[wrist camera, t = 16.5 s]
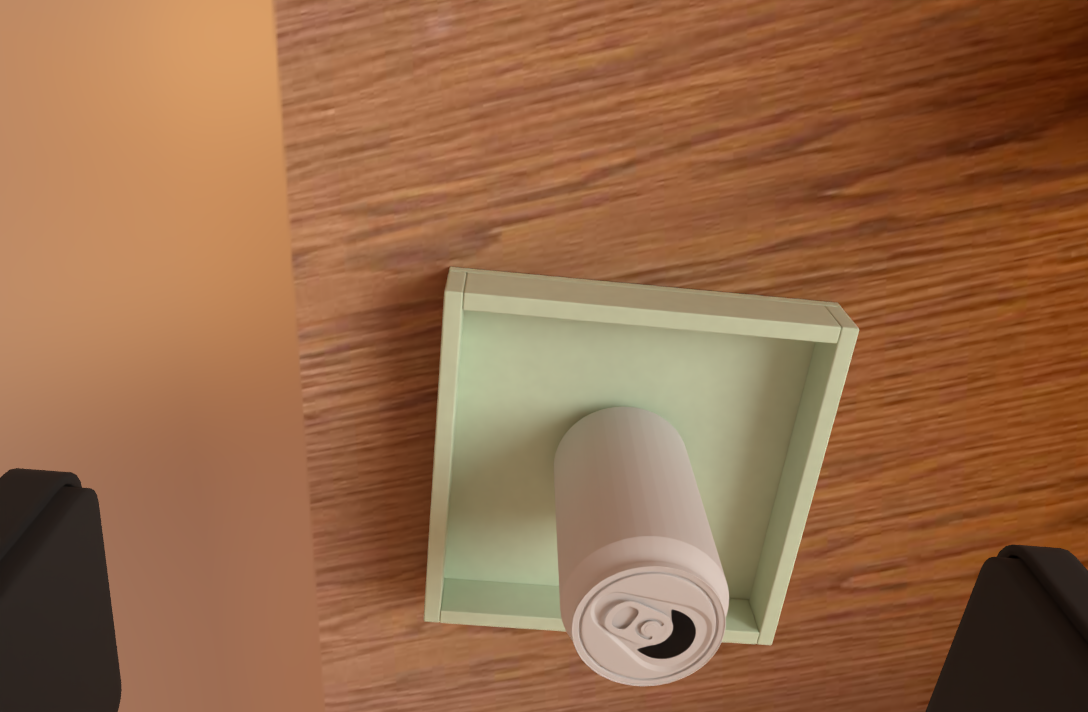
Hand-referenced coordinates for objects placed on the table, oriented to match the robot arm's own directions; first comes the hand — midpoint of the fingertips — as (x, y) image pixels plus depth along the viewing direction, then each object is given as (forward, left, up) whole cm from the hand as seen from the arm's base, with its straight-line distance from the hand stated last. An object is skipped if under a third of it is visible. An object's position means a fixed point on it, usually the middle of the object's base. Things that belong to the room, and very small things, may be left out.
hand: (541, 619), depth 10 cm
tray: (+6, -16, -30) cm, 35 cm away
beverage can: (+6, -16, -30) cm, 34 cm away
